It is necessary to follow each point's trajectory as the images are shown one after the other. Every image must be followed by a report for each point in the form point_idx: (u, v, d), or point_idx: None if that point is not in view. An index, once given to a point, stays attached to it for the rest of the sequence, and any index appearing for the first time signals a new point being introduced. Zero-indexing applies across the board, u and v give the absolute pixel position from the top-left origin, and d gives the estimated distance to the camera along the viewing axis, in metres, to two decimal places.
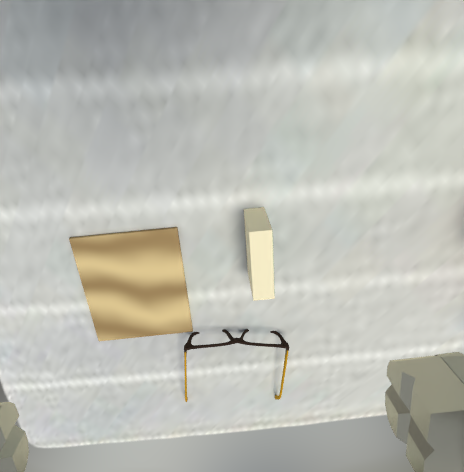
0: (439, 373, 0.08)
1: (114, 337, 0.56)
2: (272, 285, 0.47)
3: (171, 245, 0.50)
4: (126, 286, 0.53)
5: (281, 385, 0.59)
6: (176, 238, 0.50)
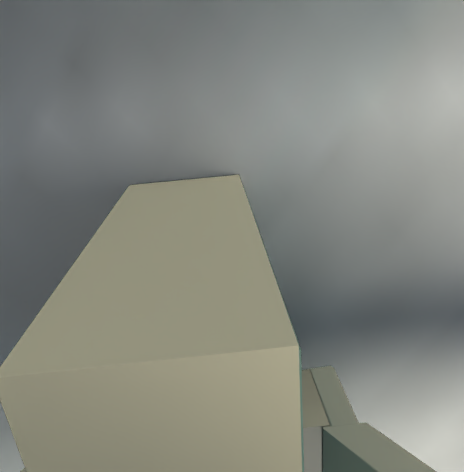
0: (302, 388, 0.08)
1: None
2: None
3: None
4: None
5: None
6: None
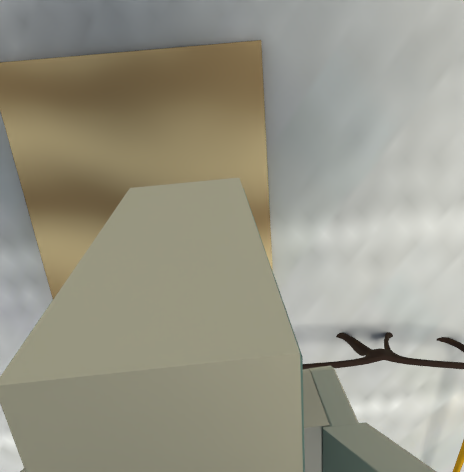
0: None
1: None
2: None
3: (243, 91, 0.20)
4: None
5: (460, 458, 0.28)
6: (257, 71, 0.20)
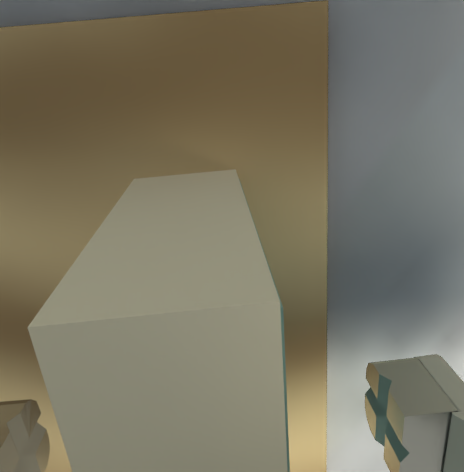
0: (416, 375, 0.08)
1: None
2: None
3: (286, 111, 0.10)
4: None
5: None
6: (316, 68, 0.09)
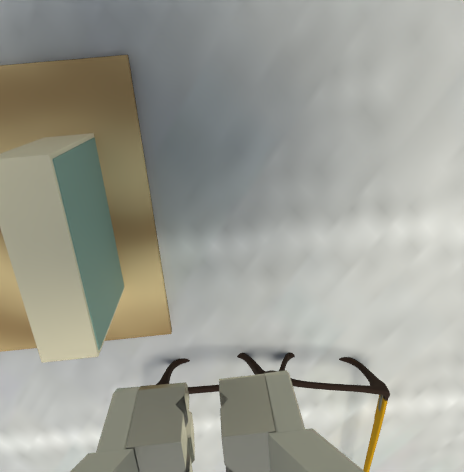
0: (254, 393, 0.08)
1: None
2: (85, 321, 0.17)
3: (114, 105, 0.20)
4: None
5: None
6: (126, 85, 0.20)
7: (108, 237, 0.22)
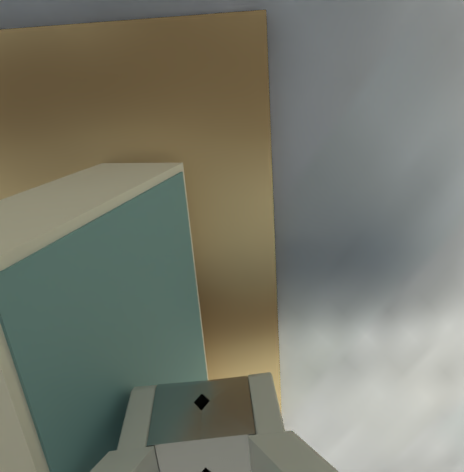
0: (235, 395, 0.08)
1: None
2: None
3: (233, 105, 0.11)
4: None
5: None
6: (258, 68, 0.11)
7: (187, 358, 0.11)
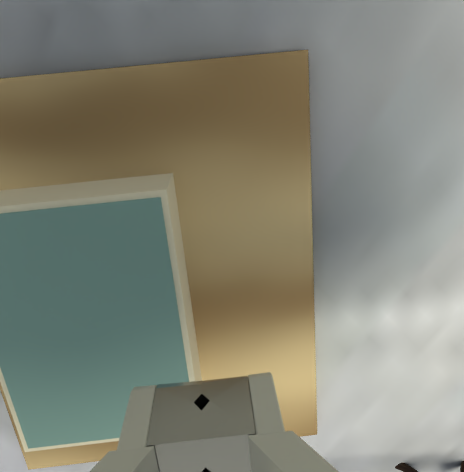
0: (236, 395, 0.08)
1: (77, 457, 0.18)
2: None
3: (280, 125, 0.14)
4: None
5: None
6: (301, 95, 0.13)
7: (149, 349, 0.13)
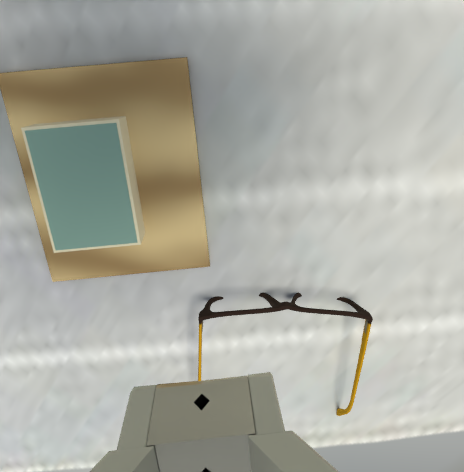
0: (236, 395, 0.08)
1: (78, 275, 0.33)
2: None
3: (176, 93, 0.29)
4: None
5: (354, 388, 0.37)
6: (185, 78, 0.29)
7: (113, 197, 0.29)
